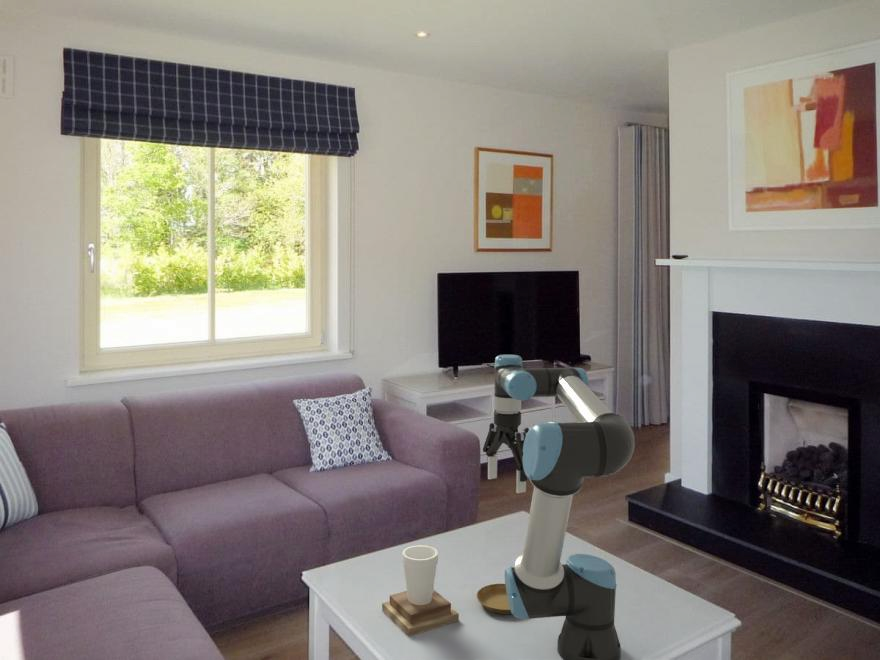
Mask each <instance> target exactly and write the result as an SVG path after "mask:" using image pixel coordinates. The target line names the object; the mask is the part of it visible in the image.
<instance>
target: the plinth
mask: <svg viewBox="0 0 880 660" xmlns="http://www.w3.org/2000/svg"><path fill="white" fill-rule="evenodd" d="M381 606H382V607H381V609H382V612H383V613H384V614H385V615H387V617H388V618H389V619H390V620H392V622H394V623H395V624H396V625H397V626H398V628H400V629H401V631H403V632H404V633H405V635H407V636H408V637H410V636H413V635H417V634H420V633H422V632H426V631H430V630H433V629H436V628H439V627H442V626H446V625H449V624H452V623H455V622H458V621H459V622H460V619H459V617H460V614H459V613H458V611H456V610H455V609H454V608H452V603H451V602H450V601H448V600H447V599H446V598H445V597H444V596H443V595H441V593H439V592H438V591H436V590H435V589H434V588H433V594H432V601H431V602H430V603H428V604H425V605H415V604H412V603H410V602H409V600H408V595H407V590H405V591H401V592H398V593H394V594H390V595H389V601H386V602H383V603H381Z"/></svg>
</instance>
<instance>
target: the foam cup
mask: <svg viewBox="0 0 880 660" xmlns="http://www.w3.org/2000/svg"><path fill="white" fill-rule="evenodd" d="M401 558H402V559H401V560H402V564H403V571H404V580H405V588H406V591H407V595H408V600H409V602H410V603H412V604H415V605H425V604H428V603H430V602H431V601H432V594H433V589H434V585H435V578H436V571H437V565H438V562H439V551H438V550H437V549H436V548H435V547H432V546H429V545H423V544H422V545H412V546H408V547H406V548H405V549H403V550H402V557H401Z"/></svg>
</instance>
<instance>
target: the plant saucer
mask: <svg viewBox="0 0 880 660" xmlns="http://www.w3.org/2000/svg"><path fill="white" fill-rule="evenodd" d="M476 598H477V600H478V602H479V604H480V605H482V607H483V608H485V610H487V611H490V613H491V612H492V613H494V614H500V615H501V614H502V615H510V614H511V615H512V613H511V610H510V607H509V603H508V598H507V593H506V586H505V583H492V584H489V585H484V586H483V587H481V588H480V589H479V590H478V591H477V593H476Z"/></svg>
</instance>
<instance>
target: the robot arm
mask: <svg viewBox="0 0 880 660" xmlns="http://www.w3.org/2000/svg"><path fill="white" fill-rule="evenodd" d="M494 359H495V360H494V367H493V370H494V395H493V409H494V412H493V423H492V422H491V423H489V429H488V431H487V435H486V438H485V441H484V443H483V446H482V451H483V453H486V454H485V455H486V456H487V460H486V461H487V479H488V480H493V479H498V455H497V453H498V450H499V449H500V448H501V446H502V444H504V445H505V446H507V447H508V448H509V449H510V451H511V453H512V455H513V458H514V460H515V463H516V466H517V468H516V483H515V484H516V485H515V486H516V487H515V488H516V489H515V492H516V494H522V493H526V492H527V481H528V479H529V481H530V483H531V485H532V486H533V491H532V496H531V503H530V509H529V517H528V522H527V528H526V534H525V538H524V539H525V540H524V547H523V551H522V553H520V555H518V556H517V557H516V559H515V562H514V566H510V567H507V568H505V570H504V584H505V586H506V593H507V598H508V603H509V607H510V610H511V615H513V617H514V618H516V619H518V620H520V619H521V620H522V619H525V620H526V619H528V620H531V619H543V618H544V619H545V618H554V617H555V618H556V617H565V618H564V621H563V624H562V628H561V631H560V633H559V635H558V638H557V645H556V646H557V648H556V649H557V653H558V655H559V656H560V657H561V658H562V659H563V660H621V656H622V655H621V654H622V652H621V651H622V647H621V646H622V645H621V643H620V640H619V636H618V633H617V629H616V626H615V617H616V616H615V614H616V613H615V611H616V596H617V595H616V591H617V581H616V576H617V575H616V569H615V568H614V566H613V565H612V564H611V563H610V562H608V561H607V560H605V559H603V558H601V557H599V556H596V555H592V554H587V553H573V554H571V555H569V556H568V557H567V559H566V560H565V561H566V562H565V563H566V564H562V562H561V560H562V559H561V558H562V553H563V549H564V543H565V537H566V534H567V528H568V522H569V518H570V513H571V507H572V503H573V502H572V501H573V497H574V495H575V494H577V493H579V491H581V489H582V487H583V485H584V480H585V478H598V477H599V478H601V477H602V478H603V477H609V476H612V475H614V474H616V473H618V472H620V471H621V470H622V469H624V468H625V467H626V466H627V465H628V463H629V462H630V460H631V459H632V457H633V454H634V451H635V446H636V443H635V435H634V431H633V429H632V427H631V425H630V424H629V423H628V422H627V421H626V419H625V418H624V417H623V416H621V415H620V414H618V413H615V412H612V411H611V410H610V409H609V408H608V407H607V405H605V404H604V402H602V401H601V400H600V398H599V397H598V396H597V394H595V393H594V392H593V391H592V390H591V389H590V387H589V376H588V373H587V371H586V369H584V368H583V367H582V368H581V367H573V366H571V367H548V368H547V367H546V368H545V367H544V368H542V367H541V368H540V367H539V368H538V367H535V368H523V367H524V365H523V358H522V357H521V356H520V355H518V354H499V355H497V356H496V357H495V358H494ZM551 397H553V398H554V397H555V398H558V400H560V401H561V403H562V404H563V405H564V407H565V408H566V410H567V411H568V412H569V414H571V416H572V417H573V418H574V420H575V421H574V422H555V421H548V422H545V423H542V422H541V423H536V424H534V425H533V426H530V428H529V429H528V431H527V432H524V431H523V432H519V429H518V428H519V427H520V426H521V424H522V412H521V410H522V402H523V401H527V400H529V399H531V398H551Z"/></svg>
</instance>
